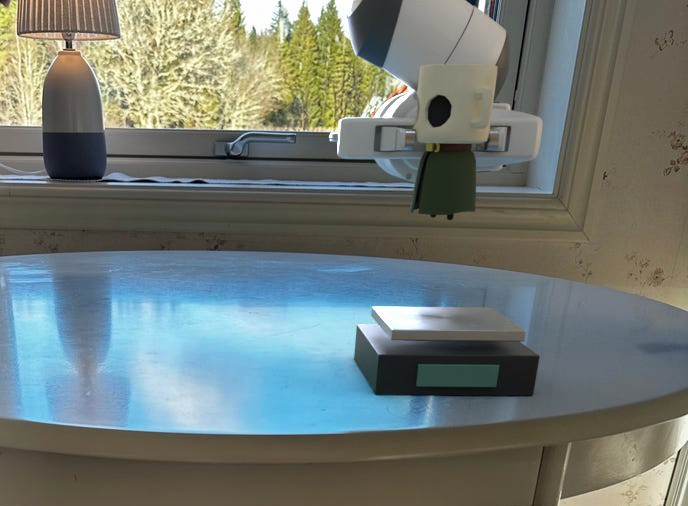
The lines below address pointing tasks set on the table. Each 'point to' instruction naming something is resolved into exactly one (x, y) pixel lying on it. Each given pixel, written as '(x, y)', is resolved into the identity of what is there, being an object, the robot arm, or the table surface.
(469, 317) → the scale pan
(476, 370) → the scale
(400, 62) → the robot arm
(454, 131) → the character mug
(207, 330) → the table surface
